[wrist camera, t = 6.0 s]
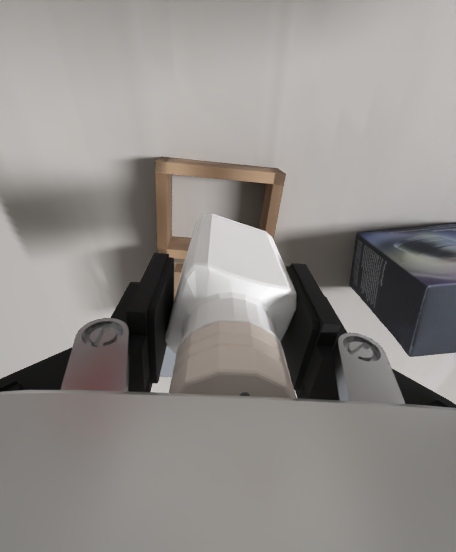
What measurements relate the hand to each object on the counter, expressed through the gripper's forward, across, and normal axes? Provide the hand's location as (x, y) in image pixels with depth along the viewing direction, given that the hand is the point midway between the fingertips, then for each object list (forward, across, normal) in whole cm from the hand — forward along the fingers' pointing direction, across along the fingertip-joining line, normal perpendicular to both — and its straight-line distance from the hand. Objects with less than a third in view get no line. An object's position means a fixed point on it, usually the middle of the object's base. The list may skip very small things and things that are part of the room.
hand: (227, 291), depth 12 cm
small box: (+15, -18, +4) cm, 24 cm away
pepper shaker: (+4, 0, 0) cm, 4 cm away
